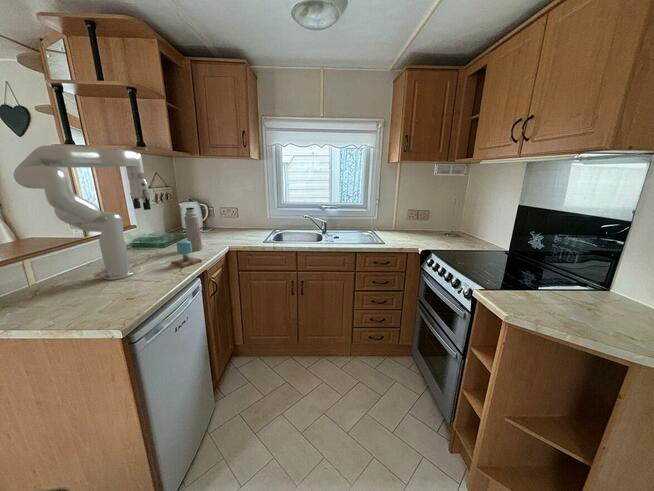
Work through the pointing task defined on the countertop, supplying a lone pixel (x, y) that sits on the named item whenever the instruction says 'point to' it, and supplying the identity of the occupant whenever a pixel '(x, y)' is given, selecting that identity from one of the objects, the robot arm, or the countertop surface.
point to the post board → (186, 262)
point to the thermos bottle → (193, 229)
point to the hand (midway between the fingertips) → (142, 209)
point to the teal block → (184, 247)
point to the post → (185, 257)
